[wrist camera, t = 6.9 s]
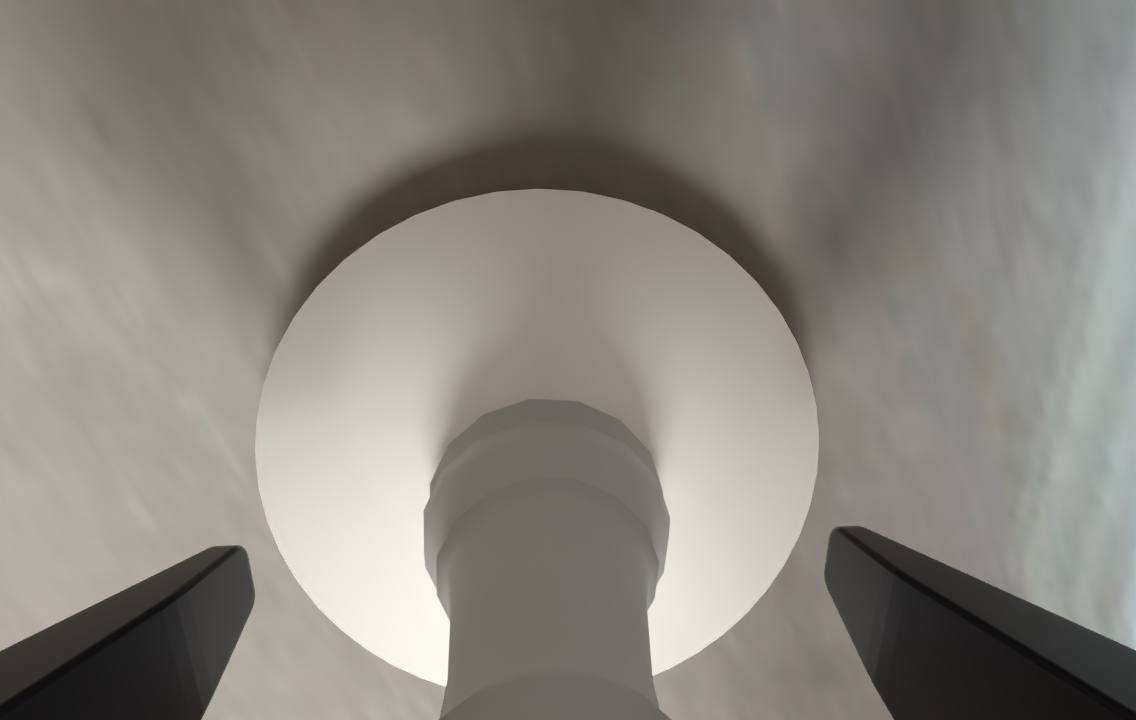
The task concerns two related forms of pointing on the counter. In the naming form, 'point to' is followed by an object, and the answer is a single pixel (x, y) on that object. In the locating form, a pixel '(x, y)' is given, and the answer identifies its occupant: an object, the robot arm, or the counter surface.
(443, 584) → the rook chess piece
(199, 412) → the counter surface
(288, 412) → the dish
